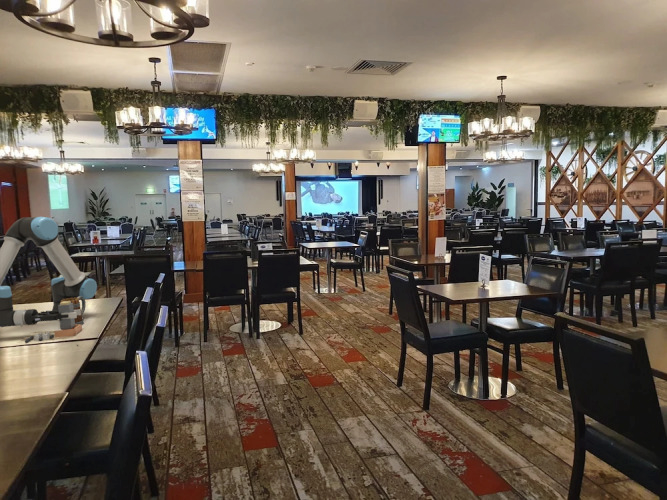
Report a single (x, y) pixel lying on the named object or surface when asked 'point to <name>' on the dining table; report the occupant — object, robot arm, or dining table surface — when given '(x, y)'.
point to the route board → (43, 334)
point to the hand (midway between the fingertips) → (78, 313)
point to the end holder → (69, 331)
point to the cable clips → (45, 336)
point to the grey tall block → (66, 308)
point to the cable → (39, 338)
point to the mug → (77, 308)
